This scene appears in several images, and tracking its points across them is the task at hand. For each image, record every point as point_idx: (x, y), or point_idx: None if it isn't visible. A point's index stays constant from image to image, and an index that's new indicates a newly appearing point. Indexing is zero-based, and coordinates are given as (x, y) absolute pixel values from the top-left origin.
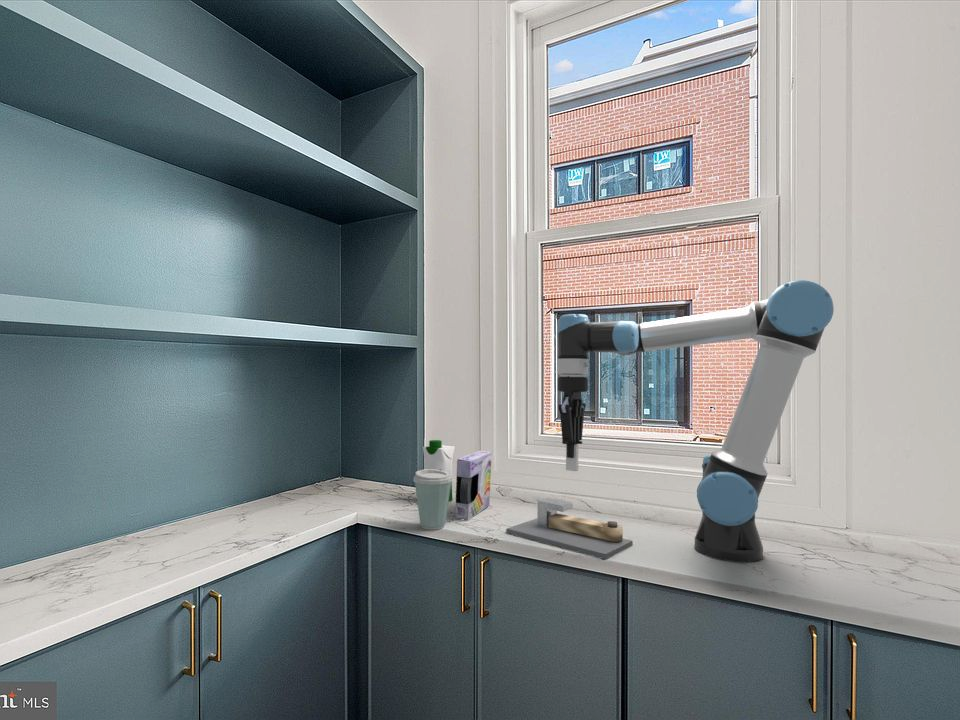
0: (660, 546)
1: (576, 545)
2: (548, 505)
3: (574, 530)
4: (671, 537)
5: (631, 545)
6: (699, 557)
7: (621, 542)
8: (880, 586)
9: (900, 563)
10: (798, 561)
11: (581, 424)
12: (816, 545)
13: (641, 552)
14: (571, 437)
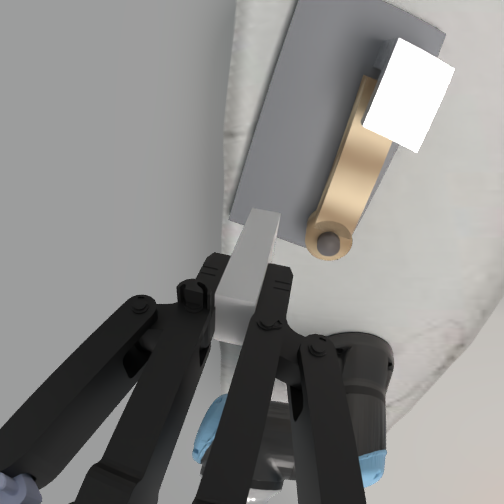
0: (349, 293)
1: (252, 161)
2: (381, 75)
3: (340, 145)
4: (407, 308)
5: None
6: (311, 332)
7: None
8: None
9: None
10: None
11: (296, 468)
12: (397, 413)
13: (301, 267)
14: (126, 356)
